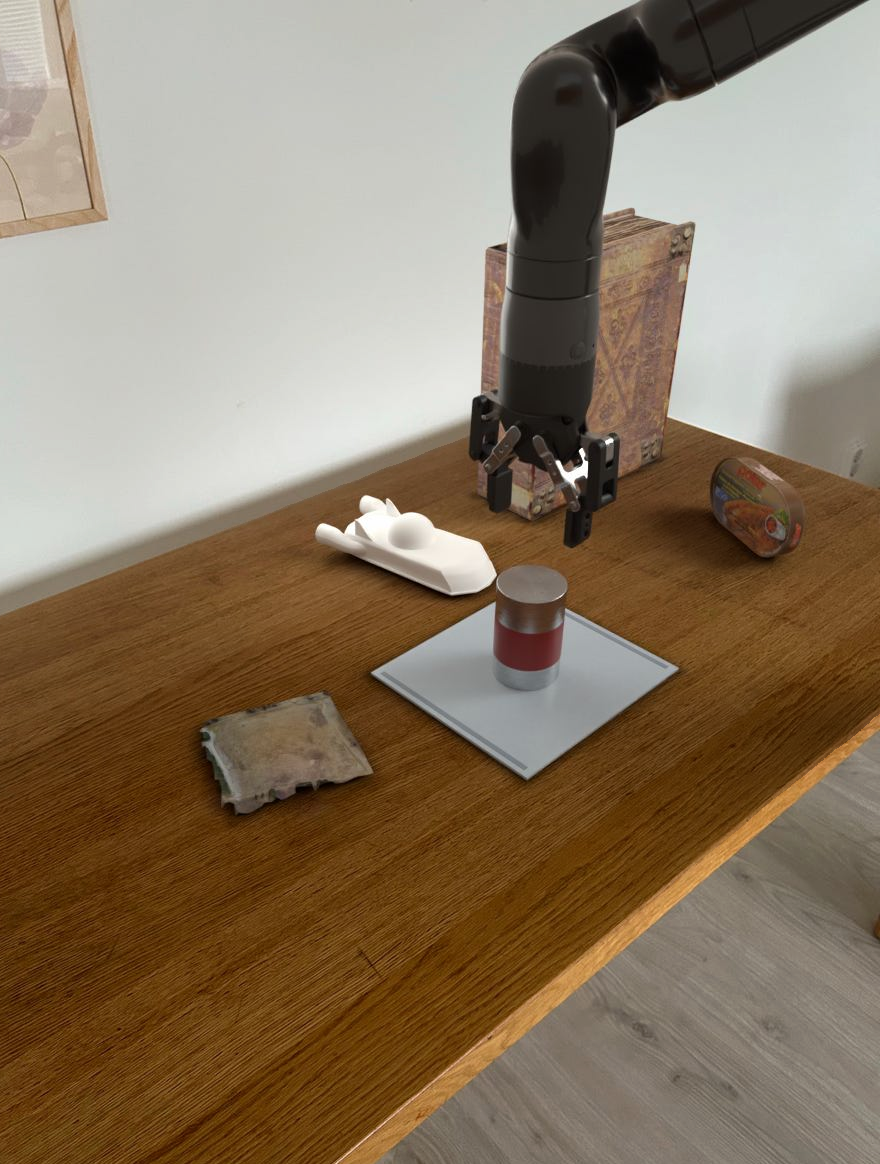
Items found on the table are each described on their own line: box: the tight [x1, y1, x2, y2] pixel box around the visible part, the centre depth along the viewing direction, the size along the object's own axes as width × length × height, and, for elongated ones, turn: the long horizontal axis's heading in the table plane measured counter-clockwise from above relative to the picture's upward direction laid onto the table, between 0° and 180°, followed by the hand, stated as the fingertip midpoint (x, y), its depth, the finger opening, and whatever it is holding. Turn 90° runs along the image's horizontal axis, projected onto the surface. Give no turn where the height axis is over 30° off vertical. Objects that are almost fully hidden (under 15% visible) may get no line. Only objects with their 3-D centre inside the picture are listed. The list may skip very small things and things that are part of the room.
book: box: [476, 207, 696, 522], centre depth 122 cm, size 25×9×30 cm, turn 131°
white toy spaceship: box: [314, 494, 497, 597], centre depth 112 cm, size 10×20×6 cm, turn 54°
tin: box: [709, 456, 807, 558], centre depth 115 cm, size 15×3×8 cm, turn 17°
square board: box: [370, 601, 680, 781], centre depth 98 cm, size 20×22×1 cm
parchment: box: [198, 690, 374, 816], centre depth 89 cm, size 12×13×1 cm
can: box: [492, 564, 569, 691], centre depth 95 cm, size 6×6×10 cm
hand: (535, 526), depth 88 cm, fingers open, 8 cm apart
